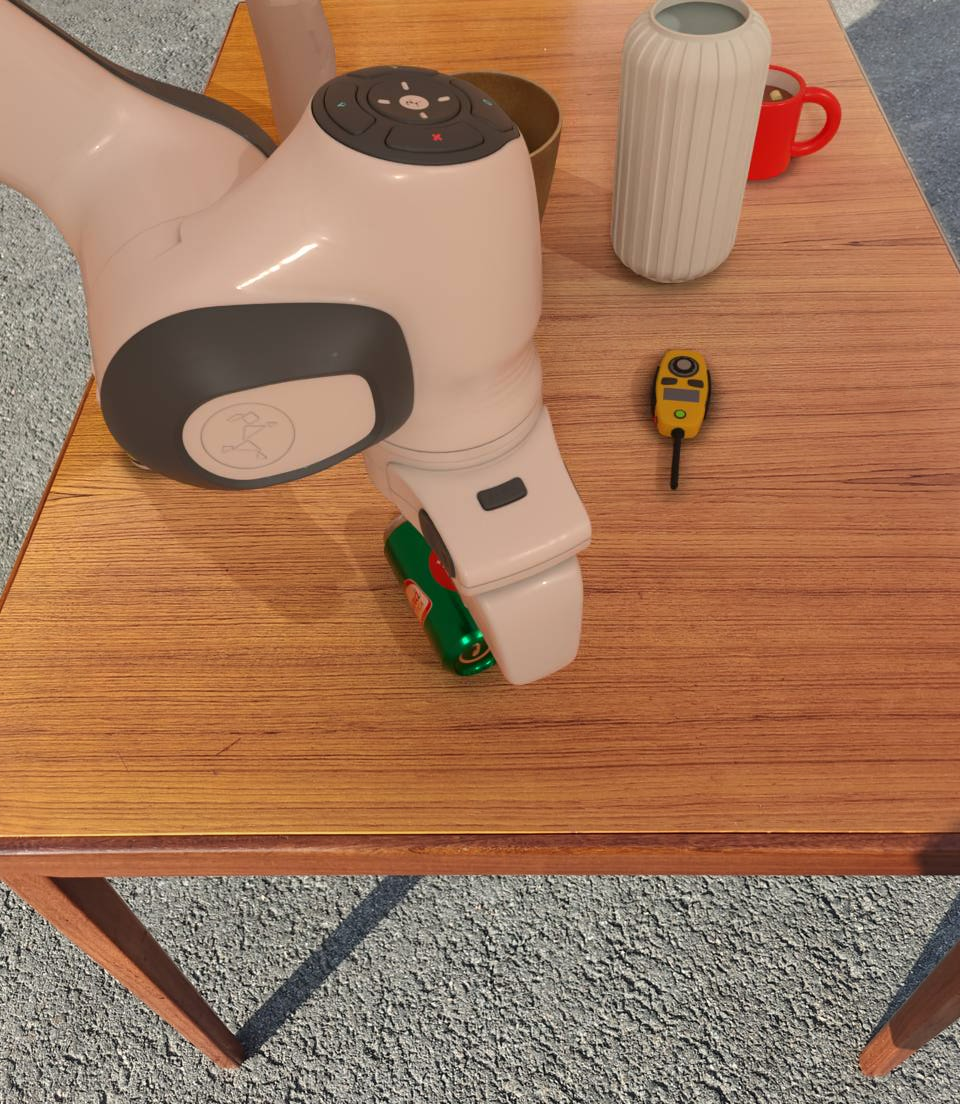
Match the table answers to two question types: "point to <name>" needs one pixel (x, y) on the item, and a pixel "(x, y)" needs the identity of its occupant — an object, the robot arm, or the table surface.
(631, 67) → the vase
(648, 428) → the table surface
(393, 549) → the soda can
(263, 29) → the pink piece
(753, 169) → the mug
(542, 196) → the plant pot
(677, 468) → the yellow walkie talkie
